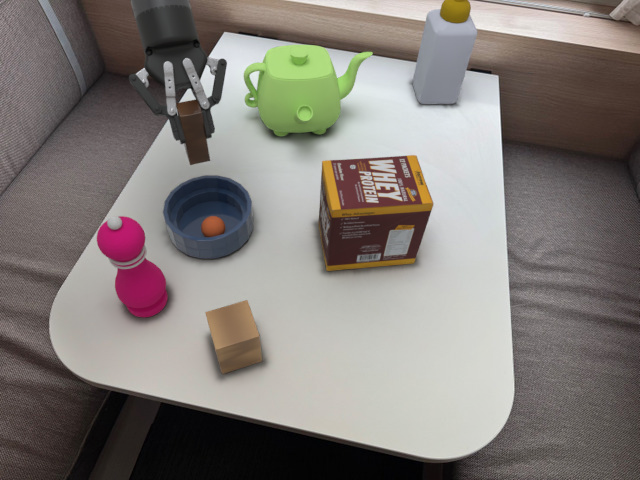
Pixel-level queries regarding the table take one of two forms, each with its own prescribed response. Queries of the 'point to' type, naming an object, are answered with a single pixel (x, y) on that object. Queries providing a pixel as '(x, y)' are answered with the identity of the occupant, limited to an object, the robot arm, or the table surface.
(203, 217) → the bowl
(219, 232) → the ball
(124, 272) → the pepper mill
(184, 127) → the tall bronze square pillar
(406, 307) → the table surface
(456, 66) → the soap bottle
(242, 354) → the light wooden block
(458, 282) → the table surface
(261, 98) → the teapot
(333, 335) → the table surface
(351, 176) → the supplement box
